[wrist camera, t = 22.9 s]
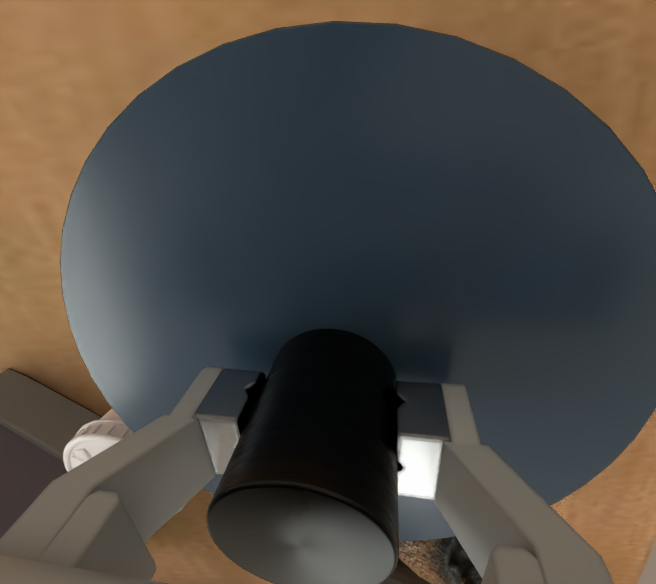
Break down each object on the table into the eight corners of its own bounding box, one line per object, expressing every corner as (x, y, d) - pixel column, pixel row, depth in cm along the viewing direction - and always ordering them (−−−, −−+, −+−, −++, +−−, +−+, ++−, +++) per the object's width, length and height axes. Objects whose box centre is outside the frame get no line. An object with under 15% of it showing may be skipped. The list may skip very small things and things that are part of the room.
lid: (87, 409, 14) (-68, 567, 9) (117, -118, 6) (-644, -722, 2) (436, 550, 14) (457, 760, 10) (830, 228, 7) (1656, 470, 2)
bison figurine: (331, 464, 29) (306, 621, 20) (312, 402, 26) (272, 554, 17) (487, 465, 26) (535, 646, 18) (486, 394, 23) (543, 572, 15)
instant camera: (118, 543, 42) (-3, 740, 29) (-49, 447, 38) (-281, 632, 25) (213, 481, 33) (98, 729, 20) (7, 343, 28) (-321, 551, 15)
